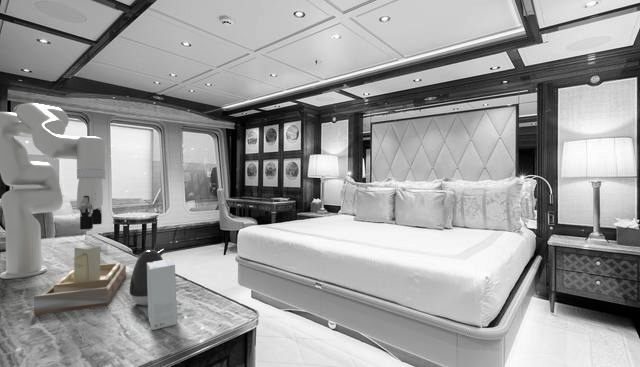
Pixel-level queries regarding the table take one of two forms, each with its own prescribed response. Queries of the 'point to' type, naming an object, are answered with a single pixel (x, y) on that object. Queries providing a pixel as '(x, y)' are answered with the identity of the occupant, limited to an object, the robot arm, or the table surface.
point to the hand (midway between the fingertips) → (91, 226)
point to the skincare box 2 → (161, 294)
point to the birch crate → (105, 277)
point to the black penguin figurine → (142, 276)
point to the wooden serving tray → (77, 297)
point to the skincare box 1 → (87, 263)
